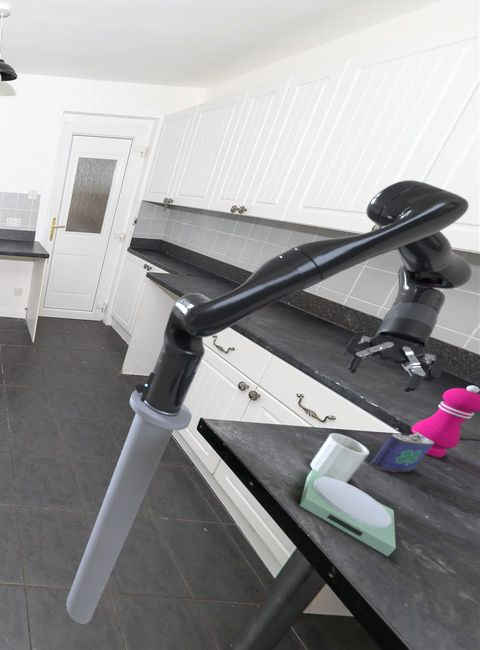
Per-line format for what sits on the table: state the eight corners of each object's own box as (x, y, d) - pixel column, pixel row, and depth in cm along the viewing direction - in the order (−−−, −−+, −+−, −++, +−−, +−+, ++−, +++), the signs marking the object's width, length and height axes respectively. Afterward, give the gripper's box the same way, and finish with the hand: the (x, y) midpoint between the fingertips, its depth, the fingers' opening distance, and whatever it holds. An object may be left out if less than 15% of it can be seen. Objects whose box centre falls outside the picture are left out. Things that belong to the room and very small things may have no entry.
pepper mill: (419, 439, 91) (469, 378, 83) (454, 460, 84) (512, 397, 77) (394, 436, 91) (441, 376, 83) (427, 457, 84) (482, 394, 77)
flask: (402, 463, 82) (430, 430, 77) (417, 473, 79) (446, 439, 75) (366, 460, 81) (392, 427, 77) (380, 470, 79) (407, 436, 74)
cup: (308, 470, 77) (328, 440, 73) (311, 457, 80) (331, 429, 77) (345, 489, 72) (369, 459, 69) (347, 475, 76) (369, 446, 73)
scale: (299, 506, 67) (307, 495, 66) (307, 476, 75) (314, 466, 74) (387, 557, 59) (398, 546, 58) (386, 518, 67) (396, 507, 65)
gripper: (369, 307, 81) (341, 360, 79) (465, 330, 72) (437, 391, 69) (357, 322, 87) (331, 372, 84) (446, 345, 77) (419, 402, 74)
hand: (379, 380), depth 76 cm, fingers open, 8 cm apart
